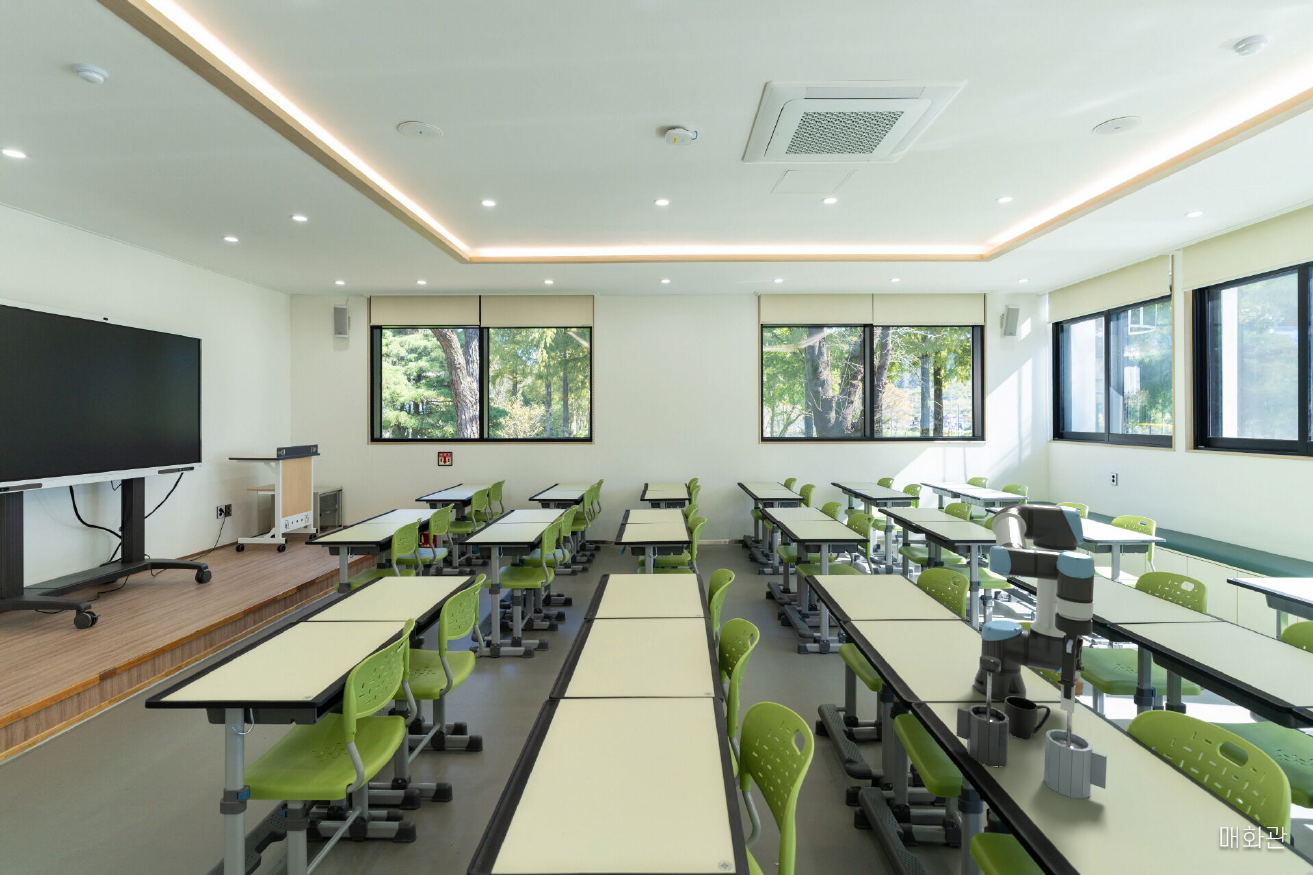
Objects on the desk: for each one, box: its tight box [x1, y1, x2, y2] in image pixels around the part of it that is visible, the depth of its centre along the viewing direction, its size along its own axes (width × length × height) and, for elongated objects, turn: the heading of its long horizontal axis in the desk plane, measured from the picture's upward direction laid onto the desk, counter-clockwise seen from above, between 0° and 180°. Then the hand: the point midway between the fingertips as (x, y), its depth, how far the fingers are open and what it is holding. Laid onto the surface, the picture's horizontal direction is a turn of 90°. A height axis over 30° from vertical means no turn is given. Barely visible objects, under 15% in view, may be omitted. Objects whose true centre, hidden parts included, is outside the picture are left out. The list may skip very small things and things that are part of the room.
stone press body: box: [1043, 728, 1108, 800], centre depth 143 cm, size 9×12×12 cm
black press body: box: [956, 704, 1010, 768], centre depth 157 cm, size 9×12×12 cm
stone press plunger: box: [1054, 676, 1084, 749], centre depth 143 cm, size 6×6×18 cm
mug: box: [1003, 696, 1051, 741], centre depth 167 cm, size 8×12×10 cm
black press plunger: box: [976, 655, 1001, 722], centre depth 156 cm, size 6×6×18 cm
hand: (1070, 702), depth 143 cm, fingers open, 10 cm apart
